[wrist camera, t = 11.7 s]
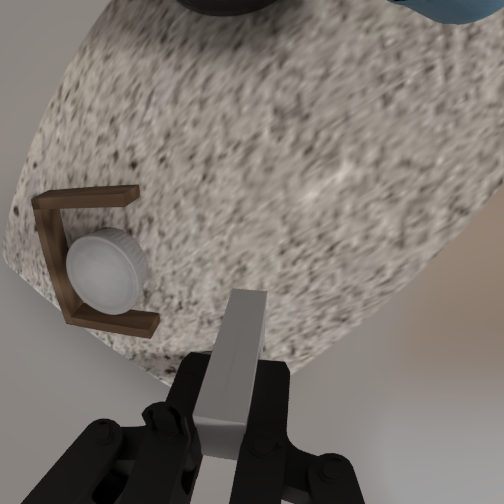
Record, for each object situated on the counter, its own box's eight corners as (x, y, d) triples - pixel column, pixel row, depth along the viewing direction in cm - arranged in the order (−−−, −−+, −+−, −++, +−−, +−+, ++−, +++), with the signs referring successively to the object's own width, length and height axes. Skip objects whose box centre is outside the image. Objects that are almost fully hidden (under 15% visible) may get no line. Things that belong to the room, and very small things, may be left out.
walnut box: (49, 190, 37) (31, 199, 34) (138, 184, 35) (123, 193, 32) (78, 309, 46) (66, 323, 42) (160, 321, 44) (150, 338, 40)
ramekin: (143, 215, 37) (123, 231, 33) (164, 293, 42) (150, 315, 37) (76, 225, 39) (54, 241, 34) (100, 294, 44) (83, 314, 39)
